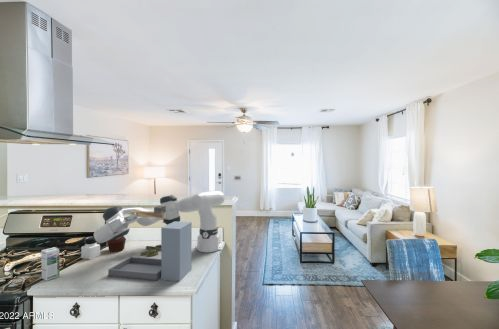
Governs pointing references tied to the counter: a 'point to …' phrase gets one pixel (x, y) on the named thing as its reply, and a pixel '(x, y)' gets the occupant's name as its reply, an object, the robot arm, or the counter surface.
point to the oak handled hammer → (152, 212)
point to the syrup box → (50, 263)
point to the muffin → (116, 244)
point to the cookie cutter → (151, 253)
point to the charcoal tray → (137, 269)
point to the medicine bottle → (90, 249)
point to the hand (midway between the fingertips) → (139, 213)
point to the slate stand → (176, 250)
